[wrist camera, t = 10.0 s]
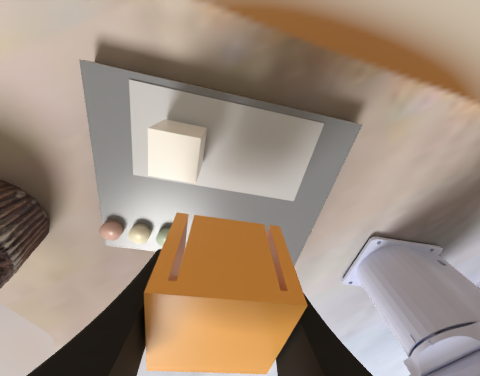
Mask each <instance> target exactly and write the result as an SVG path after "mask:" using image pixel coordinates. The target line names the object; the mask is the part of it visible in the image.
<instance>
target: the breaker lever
mask: <svg viewBox="0 0 480 376" xmlns="http://www.w3.org/2000/svg"><path fill="white" fill-rule="evenodd" d="M206 132H207V128H206V127H201V126H196V125H191V124H186V123H181V122H176V121H171V120H167V119H164V120H162V121H160V122H158V123H156V124H154V125H153V126H151V127H149V128H148V176H153V177H159V178H165V179H171V180H177V181H183V182H189V183H195V184H196V181H197V179H198V176H199V173H200V170H201V167H202V163H203V155H204V147H205V140H206Z"/></svg>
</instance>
